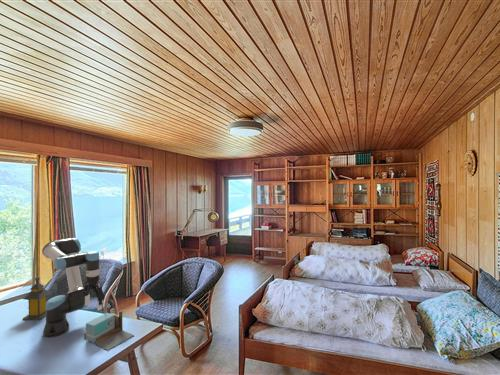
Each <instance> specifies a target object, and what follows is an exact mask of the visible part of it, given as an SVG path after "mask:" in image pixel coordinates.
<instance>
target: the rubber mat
mask: <svg viewBox="0 0 500 375" xmlns="http://www.w3.org/2000/svg"><path fill="white" fill-rule="evenodd" d="M133 337H135V335H134V334H133V333H129V332H127V331H125V330H122V331H120V332H118V333H117V334H115V335H113V336H111V337H109V338H107V339H105V340H103V341H102V342H100V343H98V344H97V343H96V344H95V346H96V347H98V348H101V349H103V350H104V351H106V352H109V351H110V350H112V349H114V348H116V347H118V346H119V345H121V344H122V342H123V343H125V342H126V341H127V340H129V339H131V338H133ZM115 346H116V347H115ZM108 350H109V351H108Z"/></svg>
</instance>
